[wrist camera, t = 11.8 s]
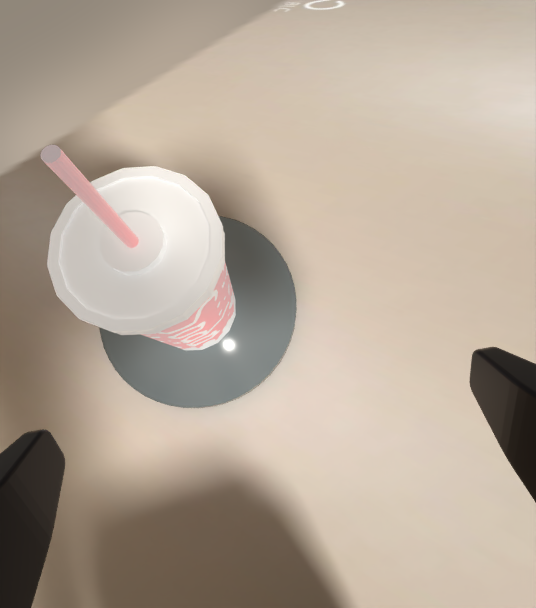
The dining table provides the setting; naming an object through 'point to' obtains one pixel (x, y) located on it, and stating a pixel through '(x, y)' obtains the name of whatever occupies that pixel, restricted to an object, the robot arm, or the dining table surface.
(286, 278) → the coaster
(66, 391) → the dining table surface
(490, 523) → the dining table surface
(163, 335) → the beverage cup
